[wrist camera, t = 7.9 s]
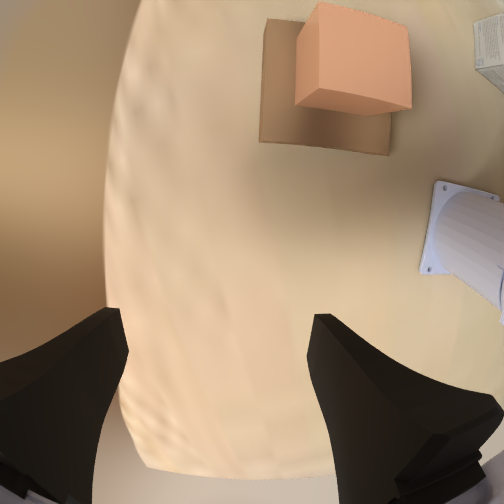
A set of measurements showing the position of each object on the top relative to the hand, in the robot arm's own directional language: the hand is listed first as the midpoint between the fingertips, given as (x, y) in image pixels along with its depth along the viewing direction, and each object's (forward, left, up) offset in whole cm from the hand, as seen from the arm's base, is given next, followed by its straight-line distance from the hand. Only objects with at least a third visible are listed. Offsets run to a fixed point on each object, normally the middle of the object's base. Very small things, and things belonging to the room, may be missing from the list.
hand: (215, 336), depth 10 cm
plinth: (-6, -11, -10) cm, 16 cm away
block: (-6, -12, -8) cm, 15 cm away
